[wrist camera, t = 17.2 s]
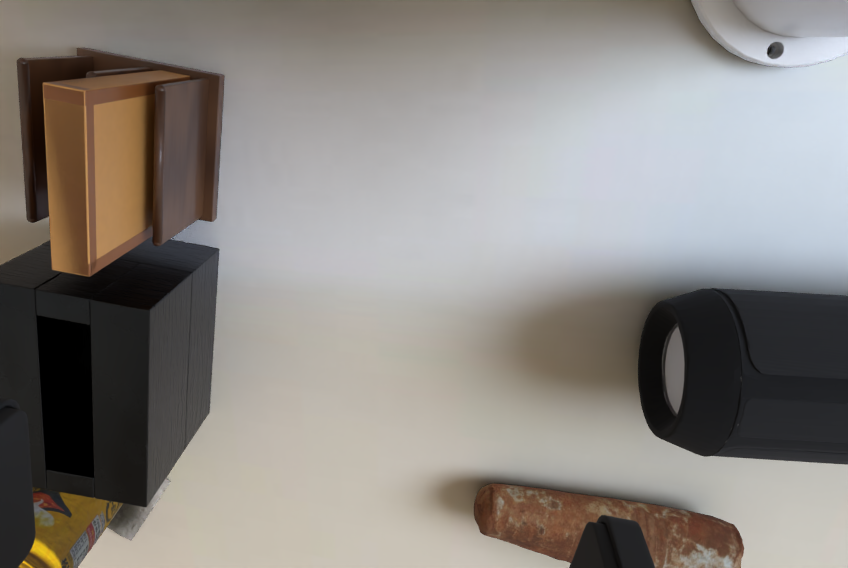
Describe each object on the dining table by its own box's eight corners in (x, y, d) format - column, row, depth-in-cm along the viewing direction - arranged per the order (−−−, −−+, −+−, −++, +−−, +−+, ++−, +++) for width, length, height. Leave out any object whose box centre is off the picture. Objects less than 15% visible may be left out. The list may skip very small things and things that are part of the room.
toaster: (69, 220, 40) (-46, 274, 31) (219, 248, 41) (149, 310, 31) (75, 387, 45) (-23, 478, 36) (209, 412, 45) (146, 508, 36)
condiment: (71, 425, 46) (-50, 547, 35) (171, 479, 48) (86, 613, 37) (36, 487, 49) (-87, 620, 38) (133, 537, 50) (41, 679, 39)
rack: (84, 47, 36) (2, 49, 30) (225, 75, 36) (174, 82, 30) (87, 194, 40) (15, 225, 33) (216, 218, 40) (169, 254, 33)
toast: (159, 69, 36) (41, 82, 26) (190, 75, 36) (84, 90, 26) (157, 209, 39) (50, 269, 29) (185, 214, 39) (89, 277, 29)
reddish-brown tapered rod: (699, 564, 49) (728, 627, 43) (465, 512, 48) (466, 570, 43) (732, 503, 46) (767, 562, 41) (486, 447, 45) (490, 500, 40)
